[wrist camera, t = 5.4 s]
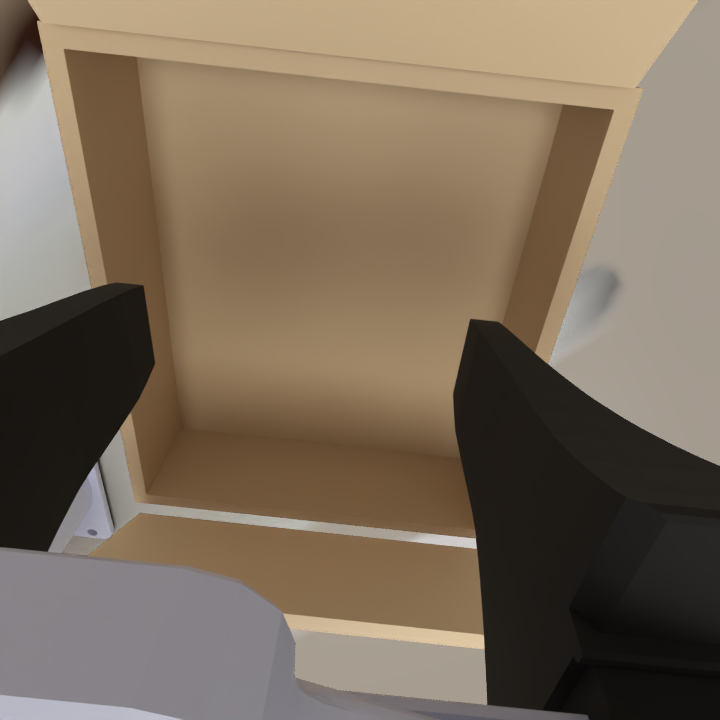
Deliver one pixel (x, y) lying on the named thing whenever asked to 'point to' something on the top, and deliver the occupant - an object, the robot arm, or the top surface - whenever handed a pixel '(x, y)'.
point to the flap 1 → (415, 30)
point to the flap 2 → (325, 576)
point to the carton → (322, 257)
